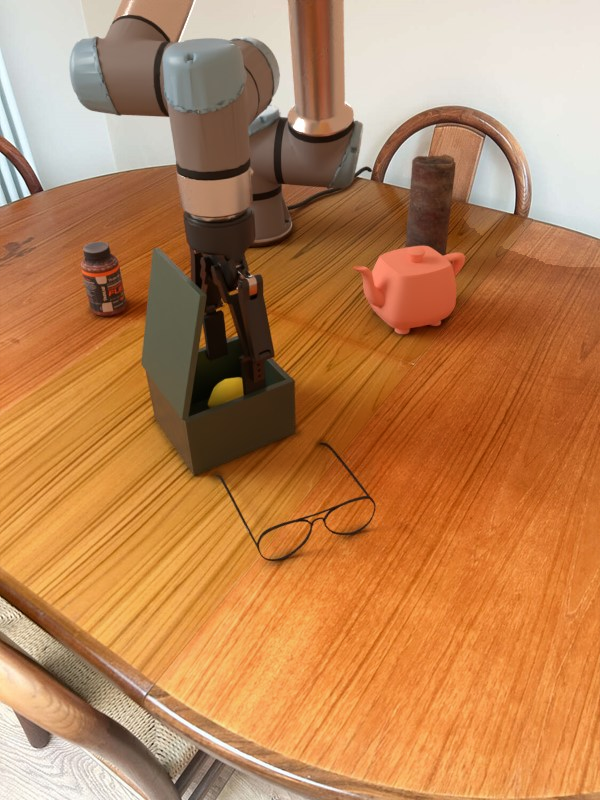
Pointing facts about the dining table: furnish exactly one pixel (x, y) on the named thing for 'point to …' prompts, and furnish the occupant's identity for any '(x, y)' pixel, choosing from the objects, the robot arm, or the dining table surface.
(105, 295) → the supplement bottle
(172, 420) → the chest
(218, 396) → the lemon
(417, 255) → the teapot
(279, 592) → the dining table surface
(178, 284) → the lid
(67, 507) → the dining table surface
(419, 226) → the candle
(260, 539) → the glasses
